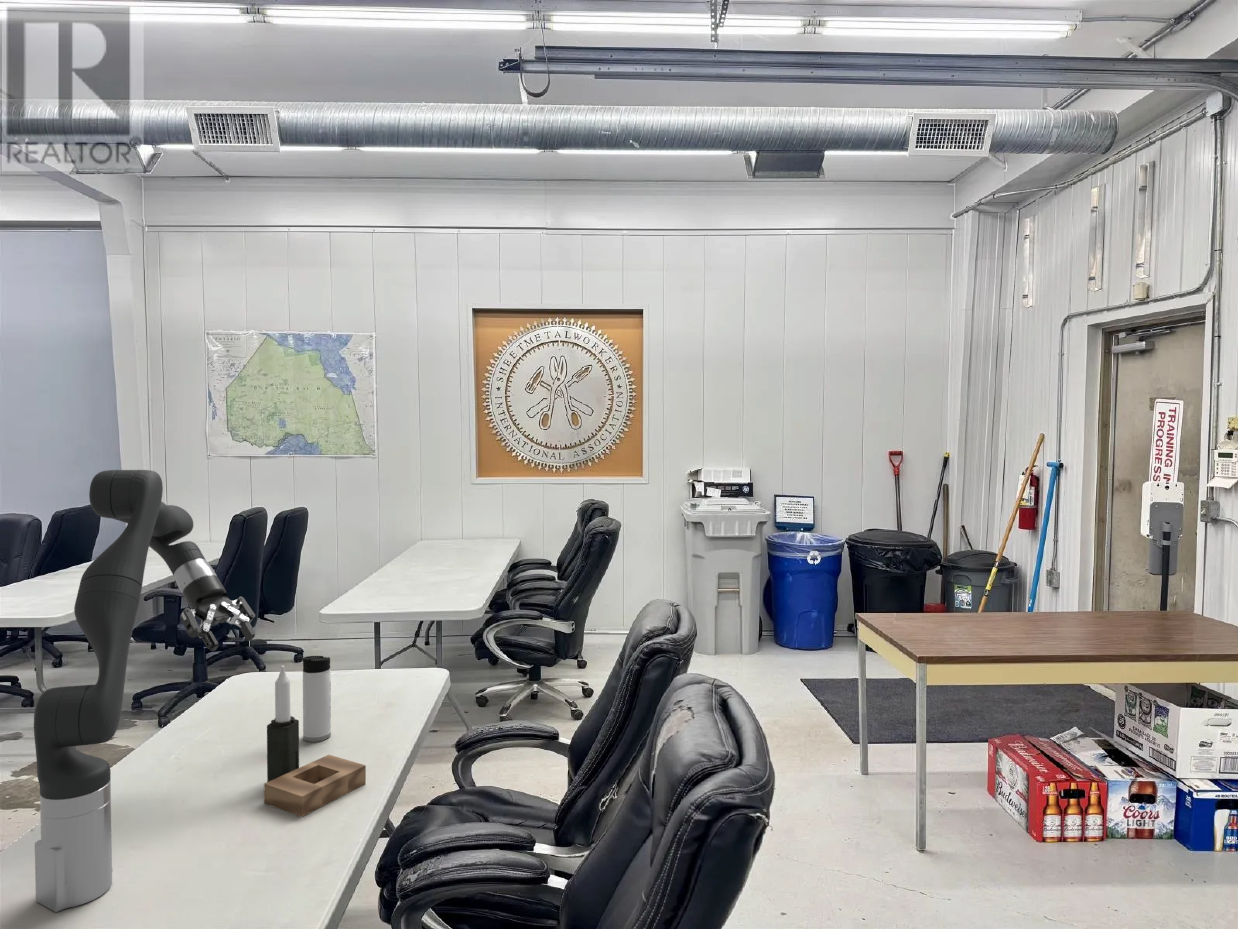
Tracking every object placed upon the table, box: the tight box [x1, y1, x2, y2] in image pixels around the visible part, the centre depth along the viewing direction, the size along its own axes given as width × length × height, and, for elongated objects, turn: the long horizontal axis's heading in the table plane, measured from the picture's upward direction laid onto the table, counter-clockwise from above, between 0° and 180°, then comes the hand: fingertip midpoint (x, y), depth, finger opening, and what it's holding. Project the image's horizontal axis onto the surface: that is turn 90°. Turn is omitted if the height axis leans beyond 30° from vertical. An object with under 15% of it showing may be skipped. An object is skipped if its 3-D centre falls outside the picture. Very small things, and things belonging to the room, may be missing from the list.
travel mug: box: [302, 655, 332, 743], centre depth 186 cm, size 6×7×20 cm
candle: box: [266, 664, 300, 783], centre depth 162 cm, size 5×5×25 cm
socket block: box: [263, 754, 367, 818], centre depth 158 cm, size 16×11×4 cm
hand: (234, 643), depth 165 cm, fingers open, 8 cm apart
